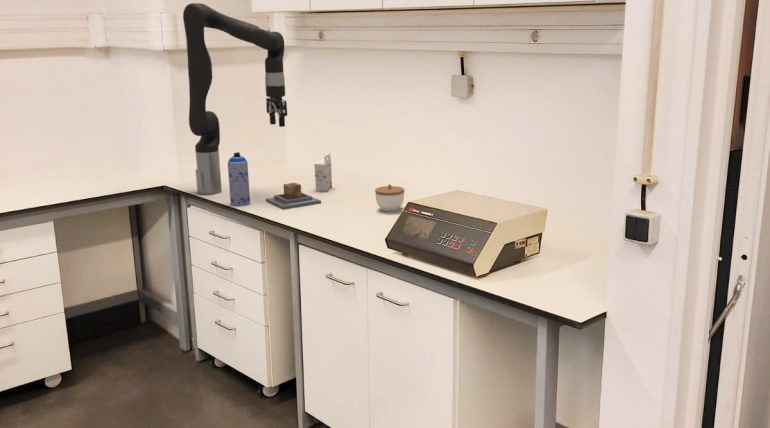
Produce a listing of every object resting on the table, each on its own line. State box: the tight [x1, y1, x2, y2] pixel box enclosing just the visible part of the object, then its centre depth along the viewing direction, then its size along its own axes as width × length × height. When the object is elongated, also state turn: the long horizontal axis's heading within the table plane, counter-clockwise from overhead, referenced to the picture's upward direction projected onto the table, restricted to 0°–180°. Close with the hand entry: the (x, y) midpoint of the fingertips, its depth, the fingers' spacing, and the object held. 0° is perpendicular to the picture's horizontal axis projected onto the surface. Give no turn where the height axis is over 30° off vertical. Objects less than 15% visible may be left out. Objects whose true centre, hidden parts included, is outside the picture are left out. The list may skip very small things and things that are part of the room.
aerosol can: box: [227, 151, 252, 207], centre depth 274 cm, size 8×8×20 cm
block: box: [282, 182, 302, 200], centre depth 277 cm, size 5×5×6 cm
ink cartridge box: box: [313, 153, 333, 193], centre depth 296 cm, size 9×5×15 cm, turn 168°
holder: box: [265, 191, 322, 210], centre depth 277 cm, size 16×16×2 cm
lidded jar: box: [374, 184, 405, 213], centre depth 263 cm, size 11×11×9 cm
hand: (277, 125), depth 284 cm, fingers open, 8 cm apart
